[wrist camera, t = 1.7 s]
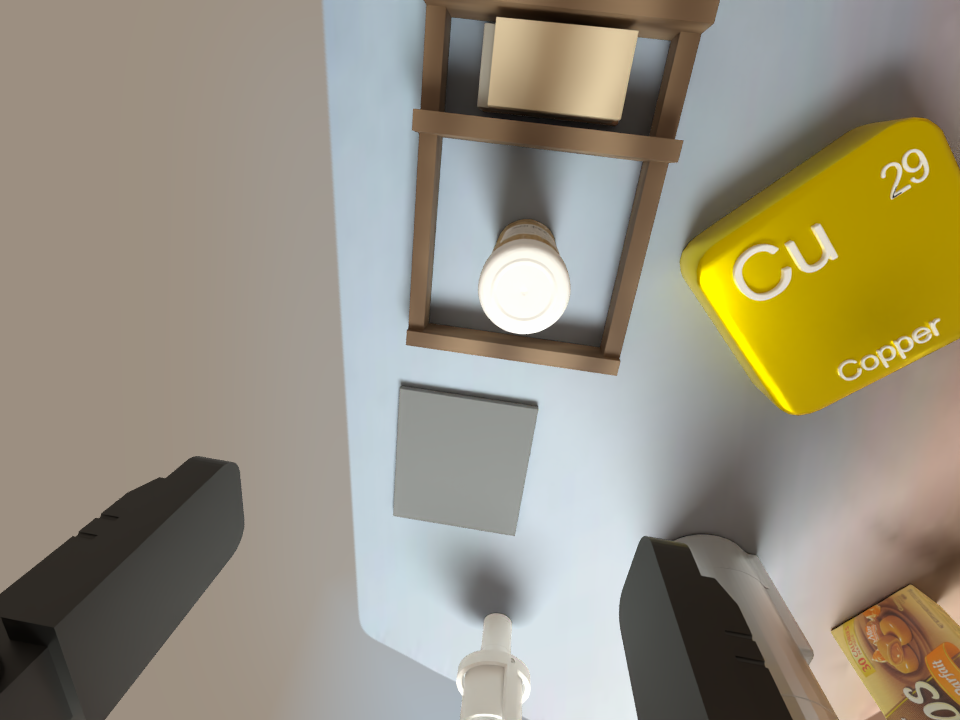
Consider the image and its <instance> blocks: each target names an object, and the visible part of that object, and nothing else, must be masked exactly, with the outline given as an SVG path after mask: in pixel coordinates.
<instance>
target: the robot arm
mask: <svg viewBox="0 0 960 720" xmlns="http://www.w3.org/2000/svg"><path fill="white" fill-rule="evenodd" d="M243 530H244V512H243V502H242V491H241V480H240V471H239V467H238V466H237V464H236V463H233V462H229V461H223V460H217V459H211V458H206V457H200V456H195V457H192V458H190V459H188V460H187V461H186V462H184V463H183V464H182V465H181V466H180V467H179V468H177V469H176V470H175V471H174V472H173V473H171V474H170V475H169V476H168V477H167V478H160V477H159V478H157V479H155V480H153V481H151V482H149V483H147V484H145V485H143V486H141V487H138V488H136V489H134V490H132V491H130V492H129V493H126V494H125V495H124V496H123V497H122V498H120V499H119V500H118V501H116V502H115V503H114V504H113V505H111V506H110V507H109V508H108V509H106V510H105V511H104V512H103V513H102V514H101V517H100V518H95V519H94V520H93V521H91V522H90V523H89V524H88V525H86V526H85V527H84V528H82V529H81V530H80V531H79V534H78V535H77V536H76V537H74V536H72V537H71V538H70V539H69V540H67V541H66V542H65V543H64V544H62V545H61V546H60V547H59V548H58V549H56V550H55V551H54V552H52V553H51V554H50V555H49V556H47V557H46V558H45V559H44V560H42V561H41V562H40V563H39V564H37V565H36V566H35V567H34V568H32V569H31V570H30V571H28V572H27V573H26V574H25V575H23V576H22V577H21V578H20V579H18V580H17V581H16V582H15V583H13V584H12V585H11V586H10V587H8V588H7V589H6V590H5V591H3V592H2V593H1V594H0V720H105V719H106V718H107V716H108V715H109V714H110V712H111V711H112V710H113V709H114V707H115V706H116V705H117V703H118V702H119V701H120V700H121V698H122V697H123V696H124V694H125V693H126V692H127V691H128V689H129V688H130V686H131V685H132V684H133V683H134V682H135V680H136V679H137V678H138V676H139V675H140V674H141V673H142V671H143V670H144V669H145V667H146V666H147V665H148V663H149V662H150V661H151V660H152V658H153V657H154V656H155V655H156V653H157V652H158V651H159V649H160V648H161V647H162V646H163V644H164V643H165V642H166V640H167V639H168V638H169V636H170V635H171V634H172V633H173V631H174V630H175V629H176V627H177V626H178V625H179V624H180V622H181V621H182V620H183V619H184V617H185V616H186V615H187V613H188V612H189V611H190V610H191V608H192V607H193V606H194V604H195V603H196V602H197V601H198V599H199V598H200V597H201V595H202V594H203V593H204V592H205V590H206V589H207V588H208V586H209V585H210V584H211V582H212V581H213V580H214V579H215V577H216V576H217V575H218V574H219V572H220V571H221V570H222V568H223V567H224V566H225V565H226V563H227V562H228V561H229V559H230V558H231V557H232V555H233V554H234V552H235V551H236V549H237V547H238V545H239V543H240V541H241V538H242V534H243ZM619 622H620V629H621V635H622V640H623V645H624V650H625V655H626V660H627V666H628V671H629V676H630V681H631V686H632V691H633V696H634V701H635V707H636V712H637V717H638V720H839V719H838V717H837V716H836V714H835V712H834V710H833V708H832V707H831V705H830V703H829V701H828V700H827V698H826V696H825V694H824V692H823V691H822V689H821V687H820V685H819V683H818V682H817V680H816V678H815V676H814V675H813V673H812V671H811V669H810V667H809V664H810V662H811V661H812V659H813V656H814V654H813V650H812V648H811V646H810V645H809V643H808V641H807V639H806V638H805V636H804V634H803V633H802V631H801V629H800V628H799V626H798V624H797V623H796V621H795V619H794V617H793V616H792V614H791V612H790V611H789V609H788V607H787V606H786V604H785V602H784V600H783V599H782V597H781V595H780V594H779V592H778V590H777V589H776V587H775V585H774V583H773V582H772V580H771V578H770V577H769V575H768V573H767V572H766V570H765V568H764V566H763V565H762V563H761V561H760V560H759V558H758V556H756V555H752V554H748V553H746V552H745V551H743V550H742V549H741V548H740V547H739V546H738V545H737V544H735V543H734V542H732V541H730V540H728V539H725V538H723V537H720V536H714V535H700V534H698V535H691V536H686V537H682V538H679V539H676V540H674V541H670V540H665V539H659V538H653V537H648V536H644V537H642V538H641V540H640V542H639V544H638V547H637V550H636V553H635V555H634V558H633V561H632V564H631V567H630V570H629V573H628V575H627V578H626V581H625V584H624V587H623V590H622V593H621V597H620V605H619Z"/></svg>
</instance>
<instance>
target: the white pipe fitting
mask: <svg viewBox="0 0 960 720" xmlns="http://www.w3.org/2000/svg"><path fill="white" fill-rule="evenodd" d="M511 631H512V622H511V620H510V619H509V618H508V617H507V616H505V615H503V614H500V613H493V614H490V615H488V616H486V618H485V619H484V625H483V636H482V645H481V650H480V651H476V652H473V653H471V654H469V655H467V656H466V657H465V658H463V660H462V661H461V662H460V664H459V668H458V674H457V687H458V689H459V691H460V693H461V694H462V695H463V696H462V707H461V714H460V720H522V703H523V702H524V701H525V700H526V699H527V698H528V696H529V694H530V673H529V670H528V668H527V667H526V665H525V664H524V663H523V662H522V661H521V660H520V659H518V658H517V657H515V656H513V655H511ZM465 673H466V674H465ZM464 674H465V677H464ZM522 680H523V682H524V684H523V685H522Z"/></svg>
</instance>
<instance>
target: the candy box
mask: <svg viewBox="0 0 960 720" xmlns="http://www.w3.org/2000/svg"><path fill="white" fill-rule="evenodd" d="M831 633H832V635H833V636H834V638H835V640H836V641H837V643H838V644H839V646H840V647H841V649H842V651H843V652H844V654H845V655H846V657H847V658H848V660H849V662H850V663H851V665H852V666H853V668H854V669H855V671H856V673H857V674H858V676H859V677H860V679H861V680H862V682H863V683H864V685H865V686H866V688H867V690H868V691H869V693H870V694H871V696H872V697H873V699H874V700H875V702H876V703H877V705H878V707H879V708H880V710H881V711H882V713H883V714H884V716H885V718H886V719H887V720H960V626H959V625H958V624H957V623H956V622H955V621H954V620H953V619H952V618H951V617H950V616H949V615H948V614H947V613H946V612H945V611H944V610H943V608H942V607H941V606H940V605H938V604H937V603H935V602H934V601H933V600H931V599H930V598H929V597H927V596H926V595H925V594H924V593H922V592H921V591H920V590H918V589H917V588H915V587H914V586H913V585H911V584H910V585H908V586H907V587H905V588H903V589H902V590H900V591H898V592H896V593H894V594H893V595H891V596H890V597H888V598H887V599H885V600H884V601H882V602H880V603H879V604H877V605H875V606H873V607H871V608H869V609H868V610H866V611H865V612H863V613H861V614H860V615H858V616H856V617H855V618H853V619H851V620H849V621H848V622H846V623H844V624H842V625H841V626H839V627H838V628H836V629H834V630H832V631H831Z"/></svg>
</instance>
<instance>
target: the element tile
mask: <svg viewBox="0 0 960 720" xmlns="http://www.w3.org/2000/svg"><path fill="white" fill-rule="evenodd" d="M680 268H681V273H682V276H683V278H684V280H685V281H686V283H687V284H688V286H689V287H690V289H691V290H692V292H693V293H694V295H695V296H696V298H697V299H698V301H699V302H700V304H701V305H702V307H703V308H704V310H705V311H706V313H707V314H708V316H709V317H710V319H711V320H712V322H713V324H714V325H715V327H716V328H717V330H718V331H719V333H720V334H721V336H722V337H723V339H724V340H725V342H726V343H727V345H728V346H729V348H730V349H731V351H732V352H733V354H734V355H735V357H736V358H737V360H738V361H739V363H740V364H741V366H742V367H743V369H744V371H745V372H746V374H747V375H748V377H749V378H750V380H751V381H752V383H753V384H754V385H755V386H756V387H757V388H758V389H759V390H760V391H761V392H762V393H763V394H764V395H765V396H766V397H768V398H769V399H770V400H771V401H772V402H773V403H774V404H775V405H776V406H777V407H778V408H779V409H781V410H782V411H784V412H786V413H788V414H792V415H805V414H810V413H813V412H815V411H818V410H820V409H822V408H824V407H826V406H828V405H830V404H832V403H834V402H836V401H838V400H840V399H842V398H844V397H846V396H848V395H850V394H852V393H854V392H856V391H858V390H860V389H861V388H863V387H865V386H867V385H869V384H871V383H873V382H875V381H877V380H879V379H881V378H883V377H885V376H887V375H889V374H891V373H893V372H895V371H897V370H899V369H901V368H903V367H905V366H906V365H908V364H910V363H912V362H914V361H916V360H918V359H920V358H922V357H924V356H926V355H928V354H930V353H932V352H934V351H936V350H938V349H940V348H942V347H944V346H946V345H948V344H950V343H952V342H953V341H955V340H957V339H959V338H960V169H959V167H958V165H957V162H956V160H955V158H954V156H953V153H952V151H951V149H950V147H949V145H948V142H947V140H946V138H945V136H944V133H943V131H942V130H941V129H940V128H939V127H938V126H937V125H936V124H934V123H933V122H931V121H930V120H928V119H926V118H917V117H910V118H903V119H897V120H890V121H883V122H876V123H870V124H867V125H863V126H859V127H857V128H855V129H853V130H851V131H849V132H847V133H846V134H844V135H843V136H841V137H840V138H838V139H837V140H835V141H834V142H833V143H831V144H830V145H828V146H827V147H825V148H824V149H822V150H821V151H819V152H818V153H817V154H815V155H814V156H812V157H811V158H809V159H808V160H806V161H805V162H803V163H802V164H801V165H799V166H798V167H796V168H795V169H793V170H792V171H790V172H789V173H787V174H786V175H785V176H783V177H782V178H780V179H779V180H777V181H776V182H774V183H773V184H771V185H770V186H769V187H767V188H766V189H764V190H763V191H761V192H760V193H758V194H757V195H755V196H754V197H753V198H751V199H750V200H748V201H747V202H745V203H744V204H742V205H741V206H739V207H738V208H737V209H735V210H734V211H732V212H731V213H729V214H728V215H726V216H725V217H723V218H722V219H721V220H719V221H718V222H716V223H715V224H713V225H712V226H710V227H709V228H707V229H706V230H705V231H703V232H702V233H700V234H699V235H697V236H696V237H695V238H694V239H693V240H692V241H690V242H689V243H688V245H687V246H686V248H685V249H684V250H683V252H682V255H681V259H680Z"/></svg>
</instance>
